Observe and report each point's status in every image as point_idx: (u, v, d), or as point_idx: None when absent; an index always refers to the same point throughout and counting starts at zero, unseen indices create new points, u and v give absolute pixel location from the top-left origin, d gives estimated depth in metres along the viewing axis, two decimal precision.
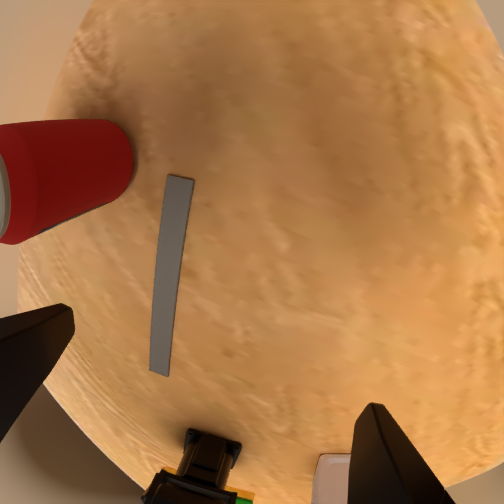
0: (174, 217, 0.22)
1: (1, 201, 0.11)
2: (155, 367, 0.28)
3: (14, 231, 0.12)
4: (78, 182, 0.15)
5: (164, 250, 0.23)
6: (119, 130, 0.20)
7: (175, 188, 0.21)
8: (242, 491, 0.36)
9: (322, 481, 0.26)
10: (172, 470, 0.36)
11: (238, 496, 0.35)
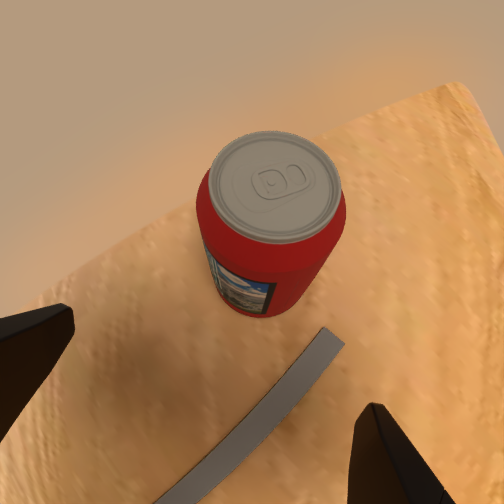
0: (310, 367, 0.20)
1: (314, 213, 0.12)
2: None
3: (290, 254, 0.12)
4: (317, 272, 0.16)
5: (278, 393, 0.20)
6: None
7: (325, 342, 0.21)
8: None
9: None
10: None
11: None
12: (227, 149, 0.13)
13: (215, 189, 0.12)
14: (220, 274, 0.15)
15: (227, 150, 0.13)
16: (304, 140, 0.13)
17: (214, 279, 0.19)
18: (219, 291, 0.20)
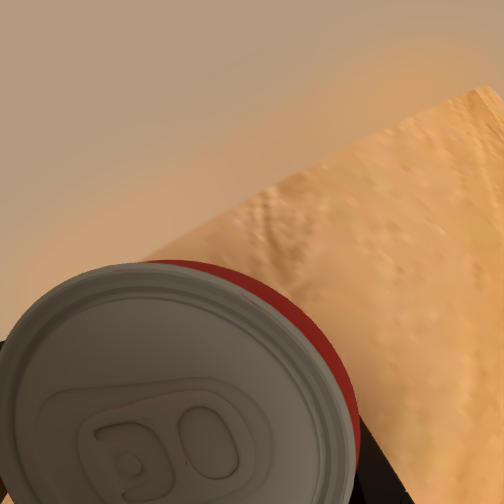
0: None
1: None
2: None
3: None
4: None
5: None
6: None
7: None
8: None
9: None
10: None
11: None
12: (22, 331, 0.04)
13: (10, 447, 0.03)
14: None
15: (23, 334, 0.04)
16: (249, 302, 0.04)
17: None
18: None
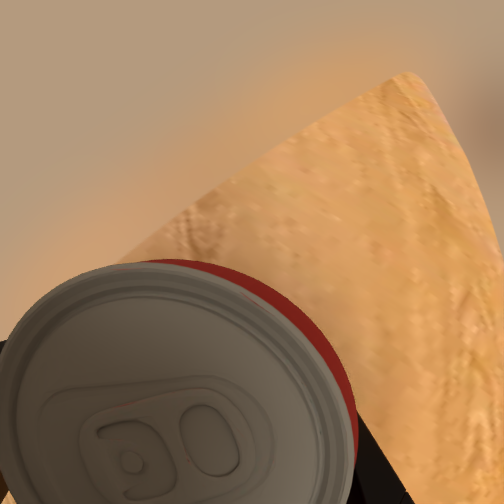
0: None
1: None
2: None
3: None
4: None
5: None
6: None
7: None
8: None
9: None
10: None
11: None
12: (24, 331, 0.04)
13: (11, 447, 0.03)
14: None
15: (25, 333, 0.04)
16: (250, 301, 0.04)
17: None
18: None
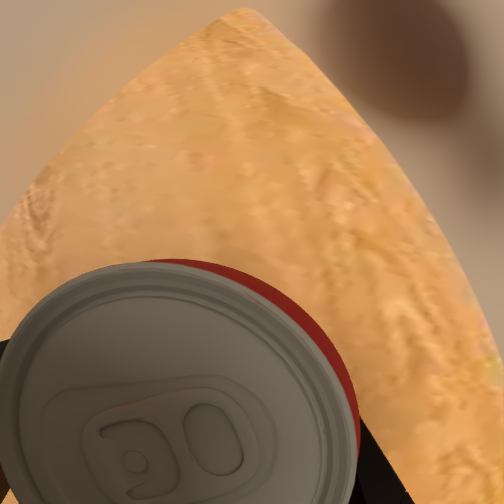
0: None
1: None
2: None
3: None
4: None
5: None
6: None
7: None
8: None
9: None
10: None
11: None
12: (27, 331, 0.04)
13: (14, 446, 0.03)
14: None
15: (28, 333, 0.04)
16: (254, 300, 0.04)
17: None
18: None
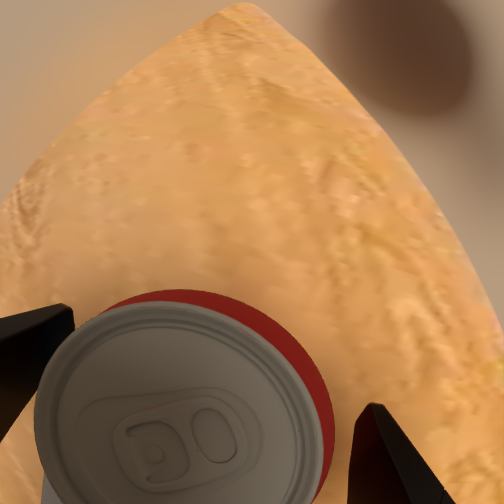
0: None
1: None
2: None
3: None
4: None
5: None
6: None
7: None
8: None
9: None
10: None
11: None
12: (63, 354, 0.05)
13: (53, 447, 0.04)
14: None
15: (64, 355, 0.05)
16: (244, 331, 0.05)
17: None
18: None
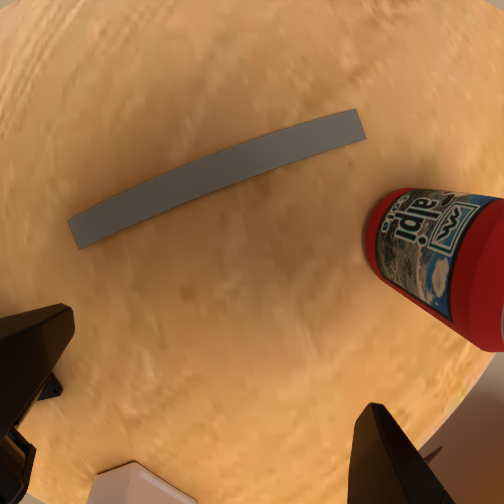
0: (320, 136, 0.17)
1: None
2: (80, 225, 0.17)
3: (492, 341, 0.09)
4: None
5: (274, 142, 0.17)
6: None
7: (349, 123, 0.17)
8: None
9: (130, 494, 0.18)
10: None
11: None
12: None
13: None
14: (429, 254, 0.12)
15: None
16: None
17: (397, 220, 0.15)
18: (381, 223, 0.17)
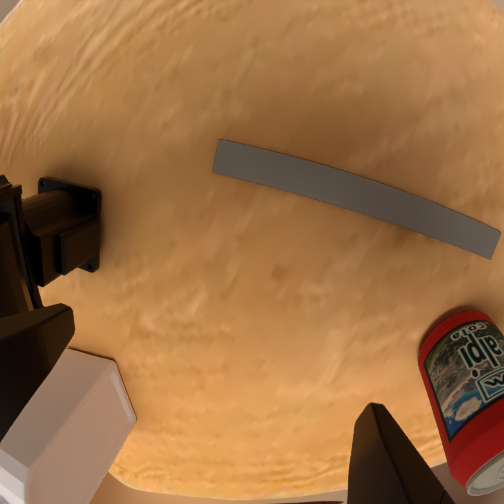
0: (465, 234, 0.16)
1: (478, 486, 0.09)
2: (229, 153, 0.17)
3: (462, 474, 0.10)
4: None
5: (433, 213, 0.16)
6: None
7: (489, 239, 0.16)
8: None
9: (94, 389, 0.22)
10: None
11: None
12: None
13: None
14: (472, 387, 0.12)
15: None
16: None
17: (467, 340, 0.15)
18: (454, 329, 0.17)
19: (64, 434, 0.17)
